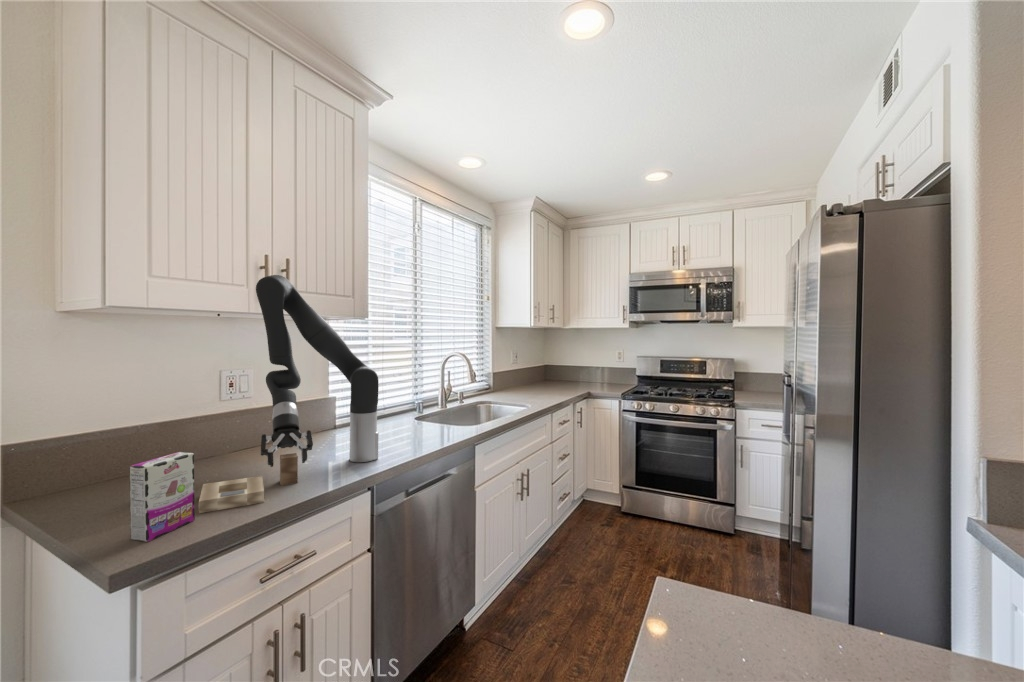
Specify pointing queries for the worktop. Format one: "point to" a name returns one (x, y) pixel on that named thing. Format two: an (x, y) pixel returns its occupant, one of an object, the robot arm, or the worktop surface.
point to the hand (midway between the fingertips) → (288, 463)
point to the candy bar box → (161, 495)
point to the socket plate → (231, 494)
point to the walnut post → (288, 469)
